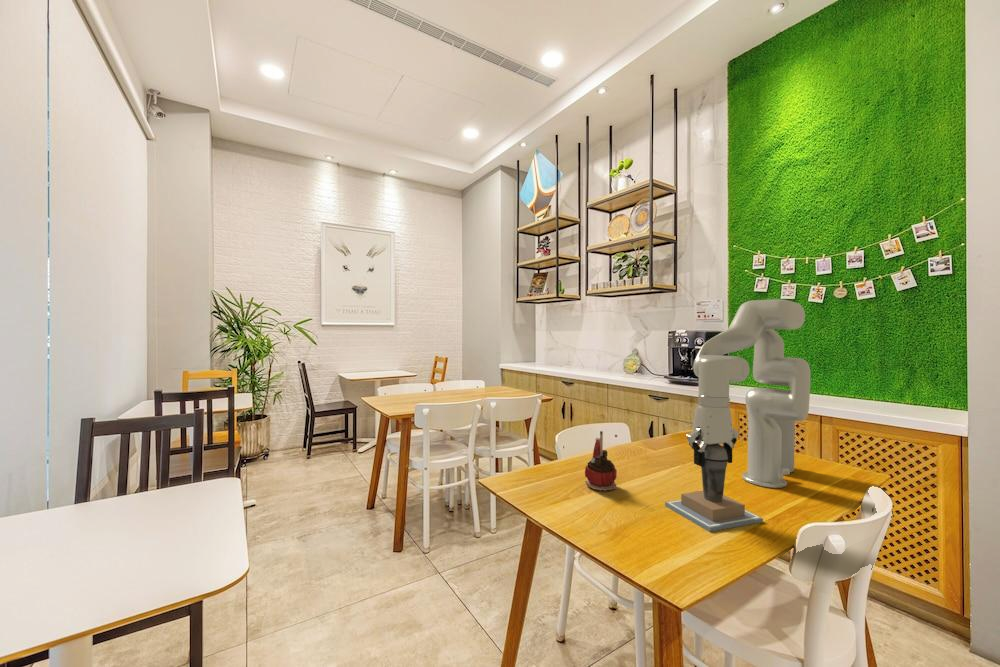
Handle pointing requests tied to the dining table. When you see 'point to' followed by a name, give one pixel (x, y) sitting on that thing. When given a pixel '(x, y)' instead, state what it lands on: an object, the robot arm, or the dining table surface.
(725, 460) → the beverage cup
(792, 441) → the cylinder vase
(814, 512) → the dining table surface
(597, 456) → the cake
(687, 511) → the brown block on tray
